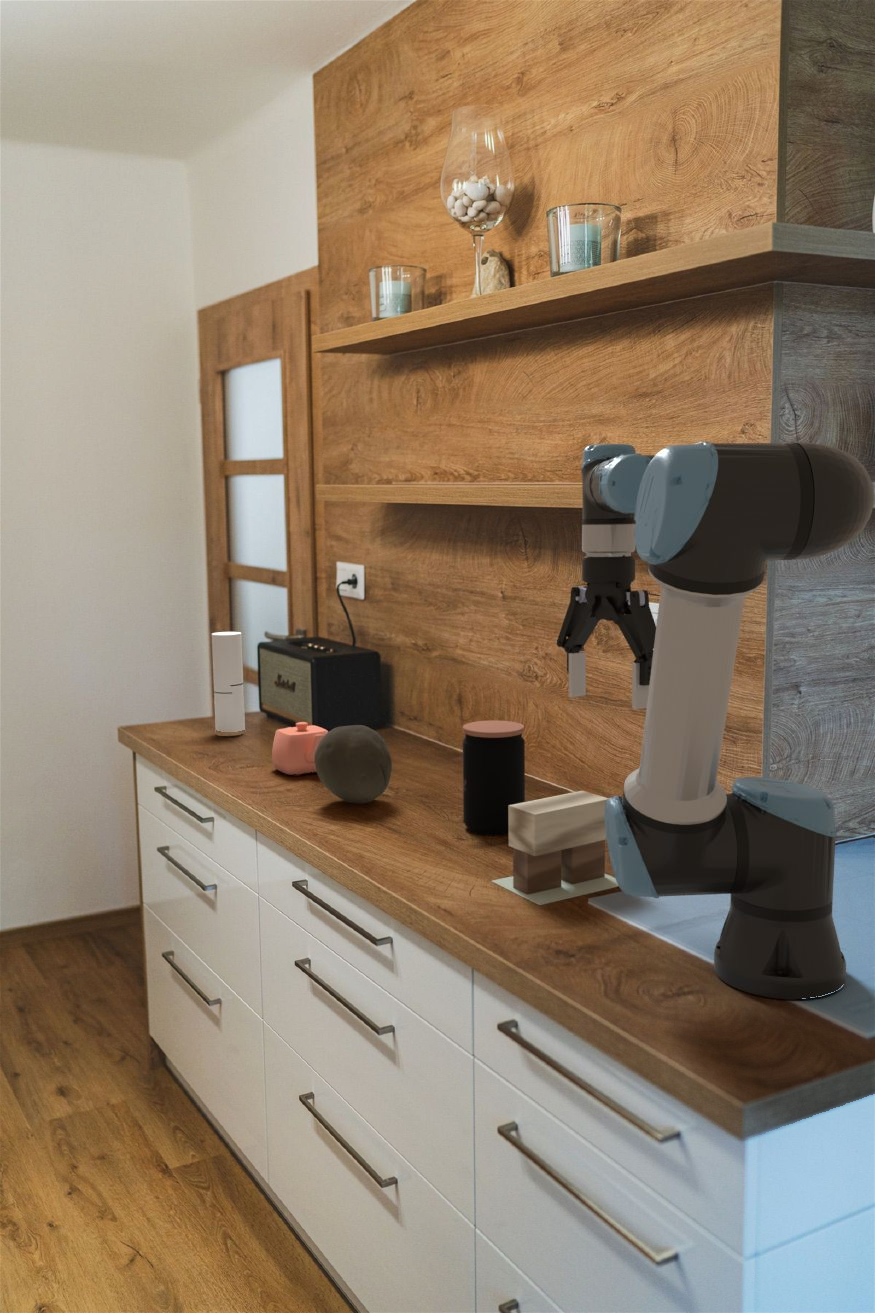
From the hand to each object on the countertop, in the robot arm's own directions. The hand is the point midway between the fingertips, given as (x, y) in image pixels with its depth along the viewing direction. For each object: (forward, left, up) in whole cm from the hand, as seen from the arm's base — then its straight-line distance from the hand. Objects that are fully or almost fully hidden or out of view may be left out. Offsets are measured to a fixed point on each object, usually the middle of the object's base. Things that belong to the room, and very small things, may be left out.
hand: (608, 702), depth 166 cm
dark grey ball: (+62, +10, -28) cm, 69 cm away
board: (+2, +7, -27) cm, 28 cm away
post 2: (+2, +3, -26) cm, 26 cm away
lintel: (+2, +7, -20) cm, 22 cm away
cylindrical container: (+137, +6, -28) cm, 140 cm away
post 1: (+2, +11, -26) cm, 29 cm away
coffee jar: (+34, -3, -28) cm, 44 cm away
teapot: (+91, +7, -28) cm, 95 cm away
